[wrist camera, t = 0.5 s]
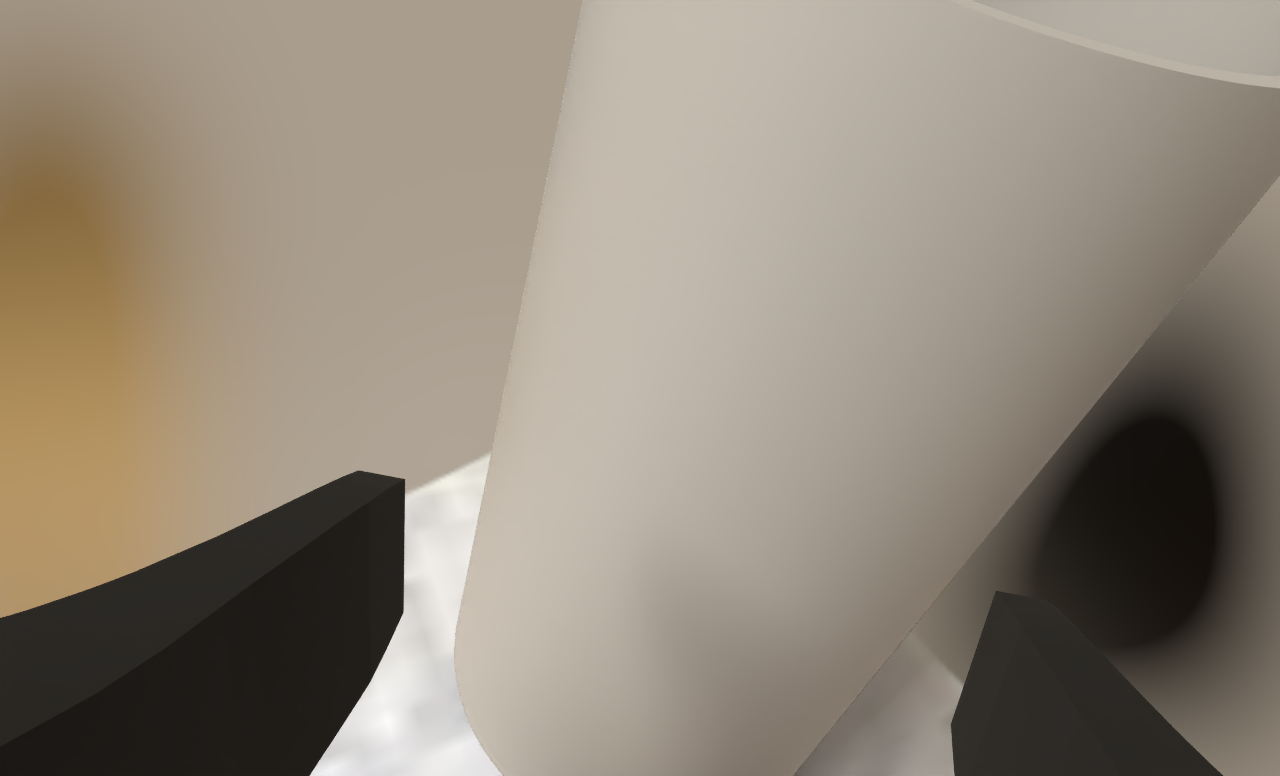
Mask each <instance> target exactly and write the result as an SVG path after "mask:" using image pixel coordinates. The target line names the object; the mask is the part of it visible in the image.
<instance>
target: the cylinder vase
mask: <svg viewBox="0 0 1280 776" xmlns="http://www.w3.org/2000/svg"><path fill="white" fill-rule="evenodd" d="M1279 176H1280V0H583V2H582V7H581V12H580V17H579V22H578V27H577V32H576V37H575V42H574V47H573V51H572V56H571V62H570V66H569V71H568V76H567V81H566V86H565V91H564V96H563V101H562V106H561V111H560V116H559V121H558V126H557V131H556V136H555V141H554V146H553V151H552V155H551V160H550V166H549V170H548V175H547V181H546V186H545V190H544V195H543V200H542V205H541V211H540V215H539V220H538V225H537V230H536V235H535V240H534V245H533V250H532V255H531V260H530V265H529V269H528V274H527V280H526V285H525V289H524V294H523V299H522V304H521V309H520V314H519V319H518V324H517V329H516V334H515V339H514V344H513V349H512V354H511V359H510V364H509V369H508V374H507V379H506V383H505V389H504V393H503V398H502V403H501V409H500V413H499V418H498V423H497V428H496V433H495V438H494V444H493V448H492V453H491V458H490V463H489V468H488V473H487V478H486V483H485V488H484V493H483V497H482V502H481V507H480V512H479V517H478V522H477V527H476V532H475V537H474V542H473V547H472V552H471V557H470V562H469V567H468V572H467V577H466V582H465V587H464V592H463V597H462V602H461V606H460V611H459V616H458V621H457V627H456V634H455V646H454V660H455V672H456V679H457V685H458V690H459V694H460V698H461V701H462V705H463V708H464V711H465V713H466V716H467V718H468V721H469V723H470V725H471V728H472V730H473V732H474V734H475V736H476V738H477V739H478V741H479V743H480V745H481V746H482V748H483V749H484V751H485V753H486V754H487V755H488V757H489V758H490V760H491V761H492V762H493V764H494V765H495V766H496V768H497V769H498V770H499V771H500V772H501V773H502V775H503V776H793V775H794V774H795V773H796V772H797V771H798V769H799V768H800V767H801V766H802V764H803V763H804V762H805V761H806V759H807V758H808V757H809V756H810V754H811V753H812V752H813V751H814V750H815V748H816V747H817V746H818V745H819V743H820V742H821V741H822V740H823V738H824V737H825V736H826V735H827V734H828V732H829V731H830V730H831V729H832V727H833V726H834V725H835V724H836V722H837V721H838V720H839V719H840V717H841V716H842V715H843V714H844V713H845V711H846V710H847V709H848V708H849V706H850V705H851V704H852V703H853V701H854V700H855V699H856V698H857V697H858V695H859V694H860V693H861V692H862V690H863V689H864V688H865V687H866V685H867V684H868V683H869V682H870V680H871V679H872V678H873V677H874V676H875V674H876V673H877V672H878V671H879V669H880V668H881V667H882V666H883V664H884V663H885V662H886V661H887V659H888V658H889V657H890V656H891V655H892V653H893V652H894V651H895V650H896V648H897V647H898V646H899V645H900V643H901V642H902V641H903V640H904V639H905V637H906V636H907V635H908V634H909V632H910V631H911V630H912V629H913V627H914V626H915V625H916V624H917V622H918V621H919V620H920V619H921V617H922V616H923V615H924V614H925V613H926V611H927V610H928V609H929V608H930V606H931V605H932V604H933V603H934V601H935V600H936V599H937V598H938V596H939V595H940V594H941V593H942V592H943V590H944V589H945V588H946V587H947V585H948V584H949V583H950V582H951V580H952V579H953V578H954V577H955V576H956V574H957V573H958V572H959V571H960V569H961V568H962V567H963V566H964V564H965V563H966V562H967V561H968V559H969V558H970V557H971V556H972V555H973V553H974V552H975V551H976V550H977V548H978V547H979V546H980V545H981V544H982V542H983V541H984V540H985V539H986V537H987V536H988V535H989V534H990V532H991V531H992V530H993V529H994V527H995V526H996V525H997V524H998V522H999V521H1000V520H1001V519H1002V518H1003V516H1004V515H1005V514H1006V513H1007V511H1008V510H1009V509H1010V508H1011V507H1012V505H1013V504H1014V503H1015V502H1016V500H1017V499H1018V498H1019V497H1020V495H1021V494H1022V493H1023V492H1024V490H1025V489H1026V488H1027V487H1028V486H1029V484H1030V483H1031V481H1033V479H1034V478H1035V477H1036V475H1037V474H1038V473H1039V472H1040V471H1041V469H1042V468H1043V467H1044V466H1045V465H1046V463H1047V462H1048V461H1049V459H1050V458H1051V457H1052V456H1053V455H1054V453H1055V452H1056V451H1057V450H1058V448H1059V447H1060V446H1061V445H1062V444H1063V442H1064V441H1065V440H1066V438H1067V437H1068V436H1069V435H1070V434H1071V432H1072V431H1073V430H1074V429H1075V428H1076V426H1077V425H1078V424H1079V423H1080V421H1081V420H1082V419H1083V418H1084V416H1085V415H1086V414H1087V413H1088V411H1089V410H1090V409H1091V408H1092V406H1093V405H1094V404H1095V403H1096V402H1097V400H1098V399H1099V398H1100V397H1101V395H1102V394H1103V393H1104V392H1105V390H1106V389H1107V388H1108V387H1109V386H1110V384H1111V383H1112V382H1113V381H1114V379H1115V378H1116V377H1117V376H1118V374H1119V373H1120V372H1121V371H1122V370H1123V368H1124V367H1125V366H1126V365H1127V363H1128V362H1129V361H1130V360H1131V358H1132V357H1133V356H1134V355H1135V354H1136V352H1137V351H1138V350H1139V349H1140V347H1141V346H1142V345H1143V344H1144V342H1145V341H1146V340H1147V339H1148V337H1149V336H1150V335H1151V334H1152V333H1153V331H1154V330H1155V329H1156V328H1157V326H1158V325H1159V324H1160V323H1161V321H1162V320H1163V319H1164V318H1165V317H1166V315H1167V314H1168V313H1169V312H1170V310H1171V309H1172V308H1173V307H1174V305H1175V304H1176V303H1177V302H1178V300H1179V299H1180V298H1181V297H1182V296H1183V294H1184V293H1185V292H1186V291H1187V289H1188V288H1189V287H1190V286H1191V284H1192V283H1193V282H1194V281H1195V279H1196V278H1197V277H1198V276H1199V275H1200V273H1201V272H1202V271H1203V269H1204V268H1205V267H1206V266H1207V265H1208V263H1209V262H1210V261H1211V260H1212V258H1213V257H1214V256H1215V255H1216V254H1217V252H1218V251H1219V250H1220V249H1221V247H1222V246H1223V245H1224V244H1225V242H1226V241H1227V240H1228V239H1229V238H1230V236H1231V235H1232V233H1234V231H1235V230H1236V229H1237V227H1238V226H1239V225H1240V224H1241V222H1242V221H1243V220H1244V219H1245V218H1246V216H1247V215H1248V214H1249V213H1250V212H1251V210H1252V209H1253V208H1254V207H1255V205H1256V204H1257V203H1258V202H1259V201H1260V199H1261V198H1262V197H1263V196H1264V194H1265V193H1266V192H1267V190H1268V189H1269V188H1270V187H1271V185H1272V184H1273V183H1274V182H1275V181H1276V180H1277V178H1278V177H1279Z"/></svg>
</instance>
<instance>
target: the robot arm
mask: <svg viewBox="0 0 1280 776" xmlns="http://www.w3.org/2000/svg"><path fill="white" fill-rule="evenodd" d="M404 521H405V479H401V478H395V477H391V476H385V475H380V474H375V473H369V472H363V471H356V472H354V473H351V474H348V475H346V476H343V477H341V478H339V479H337V480H335V481H332V482H330V483H328V484H326V485H324V486H322V487H319V488H317V489H315V490H313V491H311V492H309V493H307V494H305V495H303V496H301V497H299V498H297V499H294V500H292V501H291V502H288V503H286V504H284V505H282V506H280V507H278V508H276V509H274V510H272V511H270V512H268V513H265V514H263V515H261V516H259V517H257V518H255V519H253V520H251V521H249V522H247V523H244V524H243V525H241V526H238V527H236V528H234V529H232V530H230V531H228V532H226V533H224V534H221V535H220V536H217V537H215V538H213V539H210V540H208V541H206V542H203V543H201V544H198V545H196V546H194V547H191V548H189V549H187V550H184V551H182V552H180V553H177V554H175V555H173V556H170V557H168V558H166V559H163V560H161V561H159V562H157V563H154V564H152V565H150V566H147V567H145V568H143V569H140V570H138V571H136V572H133V573H131V574H128V575H125V576H123V577H120V578H118V579H115V580H113V581H110V582H107V583H104V584H102V585H99V586H96V587H94V588H91V589H88V590H85V591H83V592H79V593H77V594H74V595H71V596H68V597H65V598H62V599H59V600H56V601H53V602H50V603H47V604H44V605H41V606H38V607H35V608H32V609H29V610H26V611H23V612H20V613H16V614H13V615H10V616H6V617H2V618H0V776H309V775H310V774H311V772H312V771H313V769H314V768H315V766H316V765H317V763H318V762H319V760H320V759H321V757H322V756H323V754H324V753H325V751H326V750H327V748H328V747H329V745H330V744H331V742H332V741H333V739H334V738H335V736H336V734H337V733H338V731H339V730H340V728H341V727H342V725H343V724H344V722H345V721H346V719H347V717H348V716H349V714H350V713H351V711H352V710H353V708H354V707H355V705H356V704H357V702H358V700H359V699H360V697H361V696H362V694H363V693H364V691H365V689H366V688H367V686H368V685H369V683H370V681H371V679H372V677H373V675H374V673H375V671H376V669H377V667H378V665H379V663H380V661H381V659H382V657H383V655H384V653H385V651H386V649H387V647H388V645H389V643H390V640H391V638H392V636H393V634H394V632H395V630H396V627H397V625H398V623H399V621H400V619H401V617H402V614H403V609H404ZM951 732H952V746H953V760H954V773H955V776H1223V775H1222V774H1221V773H1220V772H1219V771H1217V770H1216V769H1215V768H1214V767H1213V766H1212V765H1211V764H1210V763H1209V762H1208V761H1207V760H1206V759H1205V758H1204V757H1203V756H1202V755H1201V754H1200V753H1199V752H1198V751H1197V750H1196V749H1195V748H1193V746H1191V745H1190V744H1189V743H1188V742H1187V741H1186V740H1185V739H1184V738H1183V737H1182V736H1181V735H1180V734H1179V733H1178V732H1177V731H1176V730H1175V729H1174V728H1173V727H1172V726H1171V725H1170V724H1169V723H1168V722H1167V721H1166V720H1165V719H1164V718H1163V717H1162V715H1161V714H1160V713H1159V712H1158V711H1157V710H1155V708H1154V707H1153V706H1152V705H1151V704H1150V703H1149V702H1148V701H1147V700H1146V699H1145V698H1144V697H1143V696H1142V695H1141V694H1140V693H1139V692H1138V691H1137V690H1136V689H1135V688H1134V687H1133V686H1132V685H1131V684H1130V683H1129V681H1128V680H1127V679H1126V678H1125V677H1124V676H1123V675H1122V674H1121V673H1120V672H1119V671H1118V670H1117V669H1116V668H1115V667H1114V666H1113V665H1112V664H1111V663H1110V661H1108V659H1107V658H1106V657H1105V656H1104V655H1103V654H1102V653H1101V652H1100V651H1099V650H1098V649H1097V648H1096V647H1095V646H1094V645H1093V644H1092V643H1091V642H1090V641H1089V639H1088V638H1087V637H1086V636H1085V635H1083V633H1082V632H1081V631H1080V630H1079V629H1078V628H1077V627H1076V626H1075V625H1074V624H1073V623H1072V622H1071V621H1070V620H1069V619H1068V618H1067V617H1066V616H1065V615H1064V614H1063V613H1062V612H1061V611H1060V610H1059V609H1058V608H1057V607H1056V606H1055V605H1054V604H1052V603H1051V602H1050V601H1046V600H1040V599H1036V598H1030V597H1025V596H1020V595H1014V594H1009V593H1004V592H998V591H996V593H995V596H994V599H993V601H992V604H991V607H990V610H989V613H988V616H987V619H986V622H985V625H984V628H983V631H982V634H981V637H980V640H979V643H978V646H977V649H976V652H975V655H974V658H973V661H972V664H971V666H970V670H969V672H968V676H967V678H966V681H965V684H964V687H963V690H962V693H961V696H960V699H959V702H958V705H957V708H956V711H955V714H954V717H953V720H952V723H951Z"/></svg>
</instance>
